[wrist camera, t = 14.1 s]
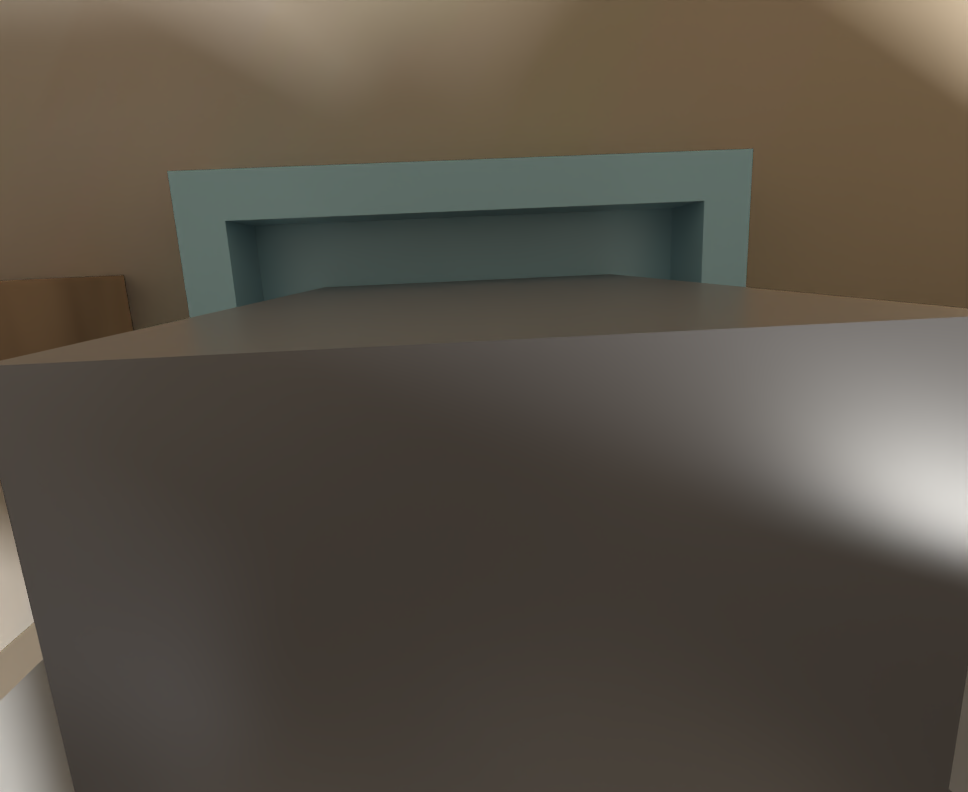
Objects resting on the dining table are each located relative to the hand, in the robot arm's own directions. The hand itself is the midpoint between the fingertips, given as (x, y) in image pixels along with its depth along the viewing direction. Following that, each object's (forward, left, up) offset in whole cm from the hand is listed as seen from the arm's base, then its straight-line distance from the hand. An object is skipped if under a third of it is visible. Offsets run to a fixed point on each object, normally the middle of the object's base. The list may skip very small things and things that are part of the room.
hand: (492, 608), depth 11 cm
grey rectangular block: (0, 0, -5) cm, 5 cm away
